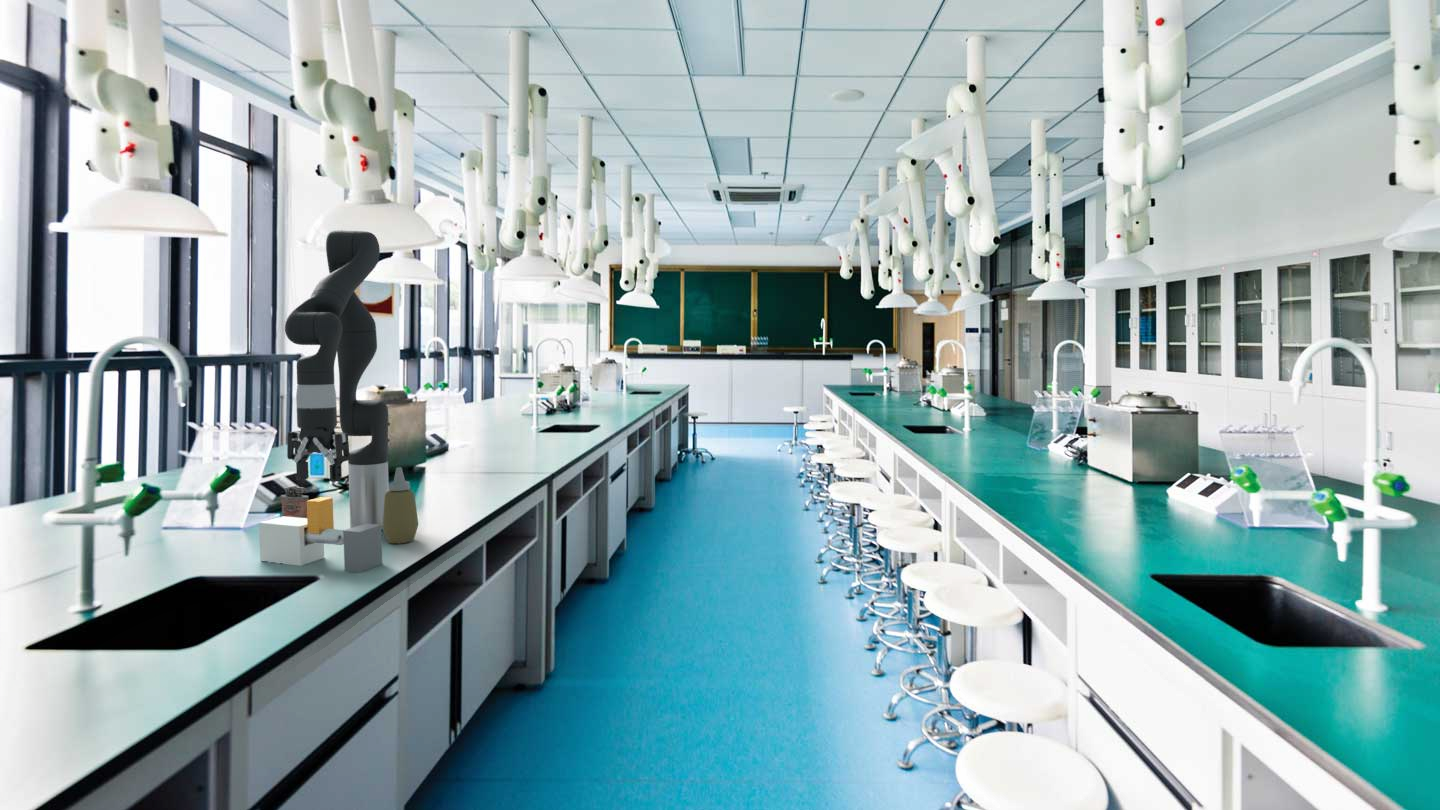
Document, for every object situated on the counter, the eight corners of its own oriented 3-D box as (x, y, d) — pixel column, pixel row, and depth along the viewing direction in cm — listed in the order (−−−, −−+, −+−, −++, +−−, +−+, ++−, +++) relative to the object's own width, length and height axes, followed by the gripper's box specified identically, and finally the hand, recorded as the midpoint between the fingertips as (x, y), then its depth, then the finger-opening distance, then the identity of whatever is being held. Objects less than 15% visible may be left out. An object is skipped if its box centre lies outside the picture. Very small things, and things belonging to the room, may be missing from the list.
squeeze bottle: (408, 535, 184) (406, 463, 183) (425, 540, 179) (423, 467, 178) (376, 541, 178) (374, 467, 176) (392, 547, 173) (390, 471, 171)
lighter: (278, 524, 194) (276, 486, 193) (289, 521, 197) (287, 484, 197) (302, 526, 192) (300, 488, 191) (313, 523, 195) (311, 486, 194)
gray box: (344, 570, 155) (343, 530, 154) (367, 562, 161) (365, 523, 160) (360, 572, 154) (359, 532, 153) (382, 563, 160) (381, 524, 159)
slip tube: (268, 540, 161) (266, 497, 161) (283, 536, 165) (281, 493, 165) (334, 547, 157) (333, 502, 156) (349, 542, 160) (347, 499, 160)
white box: (260, 561, 161) (258, 522, 160) (284, 553, 167) (283, 516, 166) (300, 565, 158) (299, 526, 157) (324, 557, 164) (323, 519, 163)
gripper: (357, 405, 159) (359, 479, 161) (304, 403, 163) (306, 476, 164) (330, 407, 152) (332, 485, 153) (275, 405, 156) (278, 481, 157)
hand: (319, 480), depth 159 cm, fingers open, 8 cm apart
